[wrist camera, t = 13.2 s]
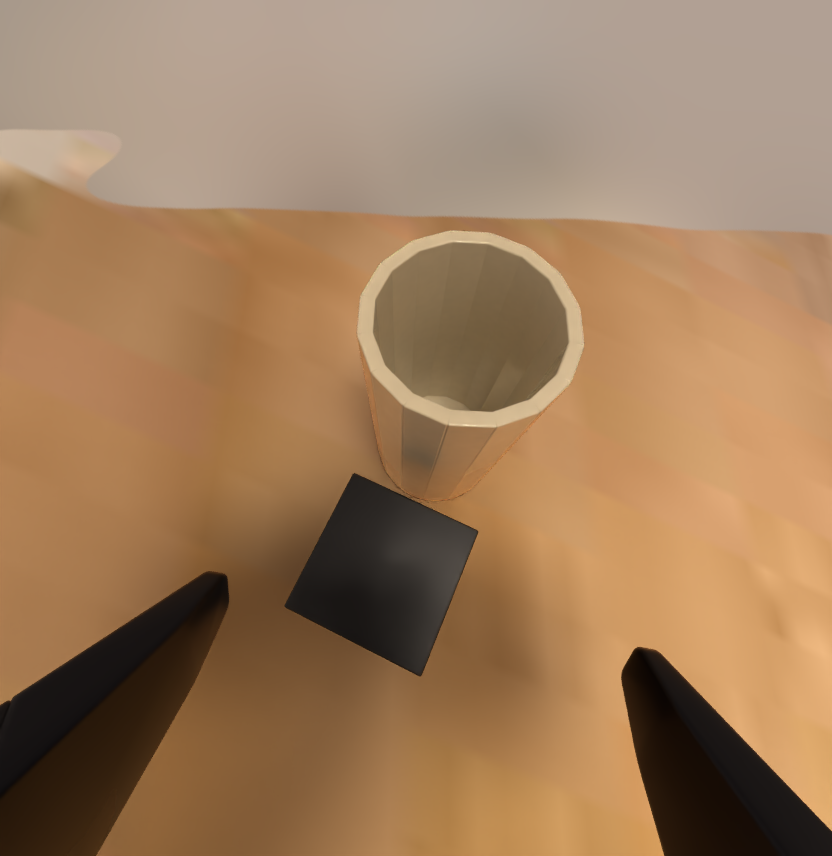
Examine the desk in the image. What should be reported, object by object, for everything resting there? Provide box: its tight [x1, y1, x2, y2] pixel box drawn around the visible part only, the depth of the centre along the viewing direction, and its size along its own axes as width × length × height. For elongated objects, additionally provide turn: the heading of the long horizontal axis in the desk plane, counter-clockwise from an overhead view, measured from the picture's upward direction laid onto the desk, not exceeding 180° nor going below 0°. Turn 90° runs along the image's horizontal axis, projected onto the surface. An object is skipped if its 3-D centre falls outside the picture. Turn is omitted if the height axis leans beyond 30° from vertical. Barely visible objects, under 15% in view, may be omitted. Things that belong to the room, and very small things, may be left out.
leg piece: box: [285, 473, 478, 676], centre depth 17 cm, size 5×5×8 cm
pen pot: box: [357, 230, 584, 501], centre depth 17 cm, size 6×6×12 cm
